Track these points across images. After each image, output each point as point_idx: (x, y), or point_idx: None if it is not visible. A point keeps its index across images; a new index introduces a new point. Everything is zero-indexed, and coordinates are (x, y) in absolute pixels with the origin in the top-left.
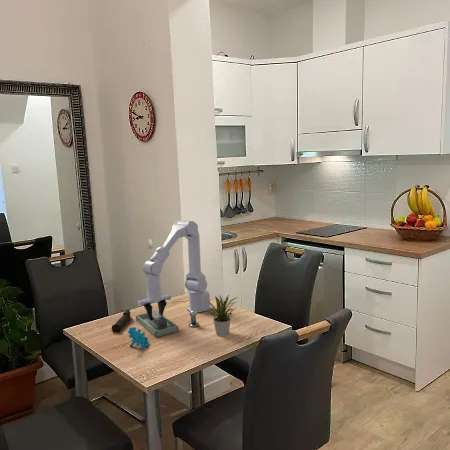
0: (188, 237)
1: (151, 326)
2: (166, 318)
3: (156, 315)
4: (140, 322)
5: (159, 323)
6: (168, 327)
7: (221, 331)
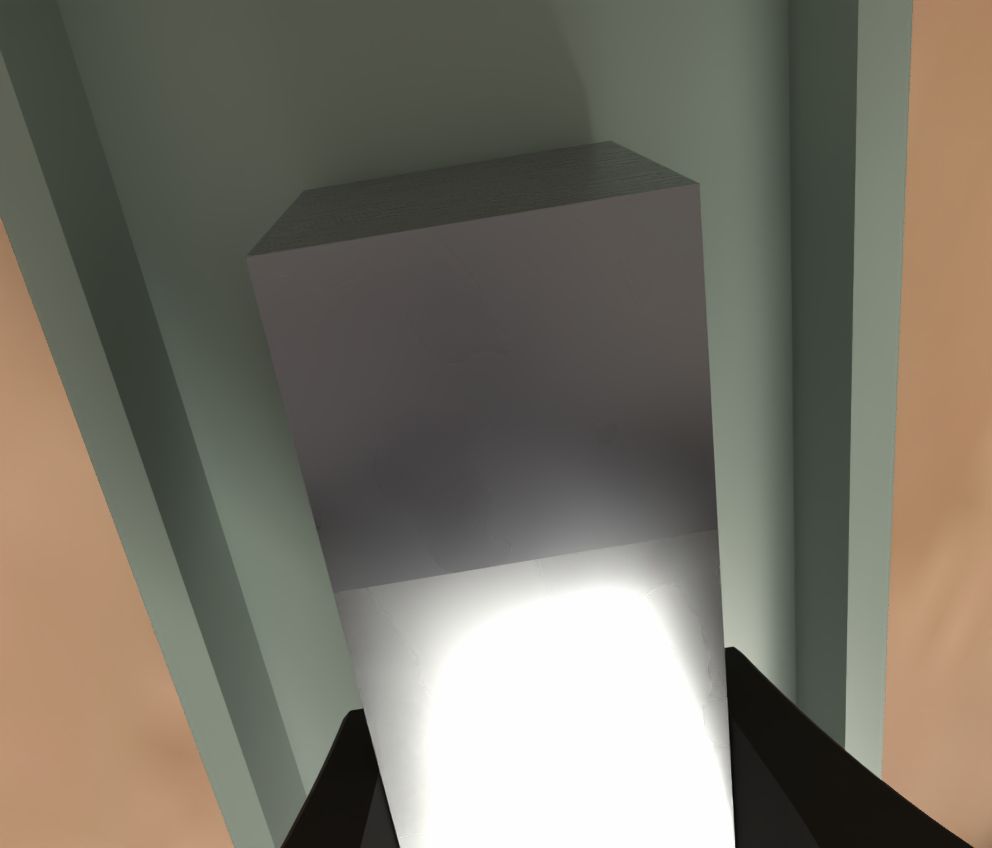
0: None
1: None
2: (216, 718)
3: (558, 776)
4: None
5: (591, 174)
6: (250, 280)
7: None
